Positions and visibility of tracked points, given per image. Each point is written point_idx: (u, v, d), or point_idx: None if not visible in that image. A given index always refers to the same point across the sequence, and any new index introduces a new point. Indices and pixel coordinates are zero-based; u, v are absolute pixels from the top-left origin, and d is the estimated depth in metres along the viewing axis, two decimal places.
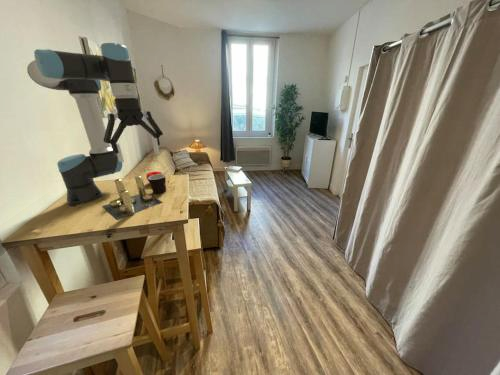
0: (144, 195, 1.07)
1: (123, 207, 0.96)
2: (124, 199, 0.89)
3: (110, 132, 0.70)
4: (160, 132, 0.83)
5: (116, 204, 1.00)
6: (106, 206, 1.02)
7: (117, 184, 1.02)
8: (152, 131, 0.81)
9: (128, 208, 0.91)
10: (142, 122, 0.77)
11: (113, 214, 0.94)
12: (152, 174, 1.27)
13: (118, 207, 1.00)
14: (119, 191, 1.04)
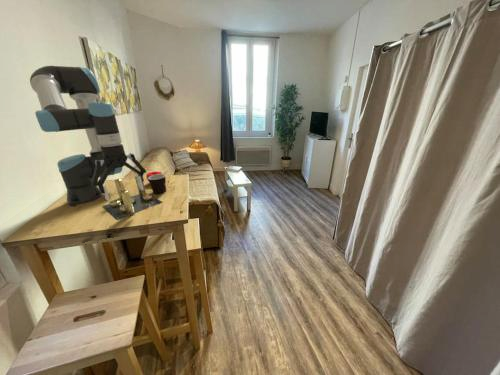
0: (144, 195, 1.07)
1: (123, 207, 0.96)
2: (124, 199, 0.89)
3: (97, 176, 0.79)
4: (144, 170, 0.92)
5: (116, 204, 1.00)
6: (106, 206, 1.02)
7: (117, 184, 1.02)
8: (136, 170, 0.90)
9: (128, 208, 0.91)
10: (126, 164, 0.86)
11: (113, 214, 0.94)
12: (152, 174, 1.27)
13: (118, 207, 1.00)
14: (119, 191, 1.04)
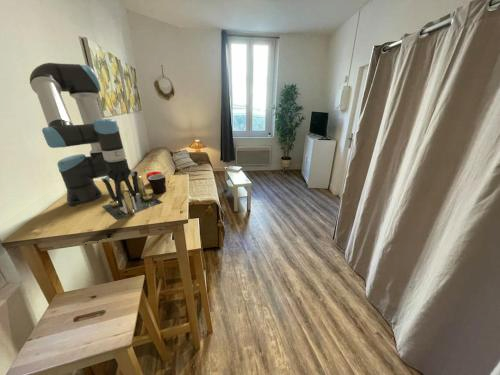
0: (144, 195, 1.07)
1: None
2: (124, 199, 0.89)
3: (112, 192, 0.85)
4: (137, 190, 0.93)
5: (116, 204, 1.00)
6: (106, 206, 1.02)
7: None
8: (131, 189, 0.91)
9: (128, 208, 0.91)
10: (127, 180, 0.88)
11: (113, 214, 0.94)
12: (152, 174, 1.27)
13: (118, 207, 1.00)
14: None
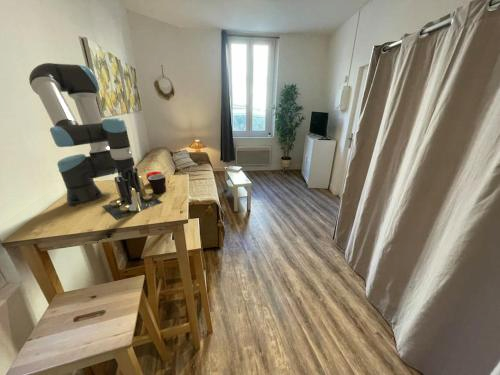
0: (144, 195, 1.07)
1: (124, 207, 0.96)
2: (132, 196, 0.92)
3: (125, 190, 0.87)
4: (139, 186, 0.97)
5: (116, 204, 1.00)
6: (106, 206, 1.02)
7: None
8: (136, 186, 0.95)
9: (136, 205, 0.94)
10: (133, 176, 0.92)
11: (113, 214, 0.94)
12: (152, 174, 1.27)
13: (118, 207, 1.00)
14: (119, 191, 1.04)
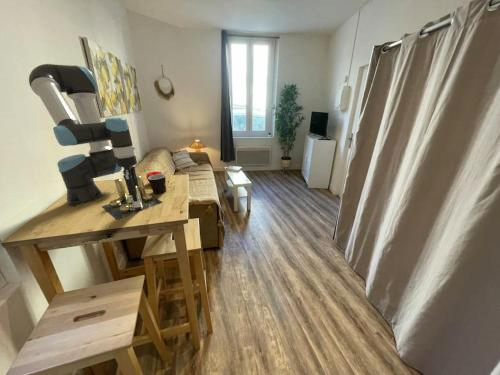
0: (144, 195, 1.07)
1: (126, 206, 0.96)
2: None
3: (134, 186, 0.90)
4: None
5: (116, 204, 1.00)
6: (106, 206, 1.02)
7: (117, 184, 1.02)
8: (136, 183, 0.97)
9: (140, 201, 0.97)
10: (135, 174, 0.94)
11: (113, 214, 0.94)
12: (152, 174, 1.27)
13: (118, 207, 1.00)
14: (119, 191, 1.04)
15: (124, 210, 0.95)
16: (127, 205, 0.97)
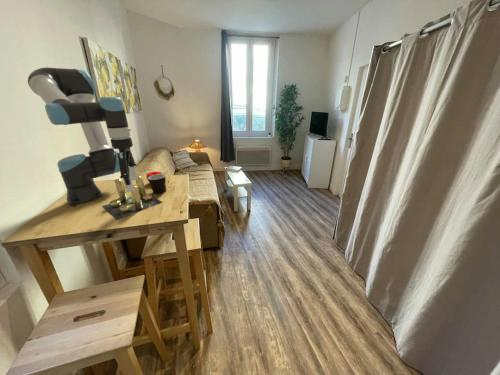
0: (144, 195, 1.07)
1: (126, 206, 0.96)
2: (137, 193, 0.95)
3: (127, 168, 0.84)
4: (134, 161, 1.00)
5: (116, 204, 1.00)
6: (106, 206, 1.02)
7: (117, 184, 1.02)
8: (132, 161, 0.97)
9: (140, 201, 0.97)
10: (131, 155, 0.93)
11: (113, 214, 0.94)
12: (152, 174, 1.27)
13: (118, 207, 1.00)
14: (119, 191, 1.04)
15: (124, 210, 0.95)
16: (127, 205, 0.97)
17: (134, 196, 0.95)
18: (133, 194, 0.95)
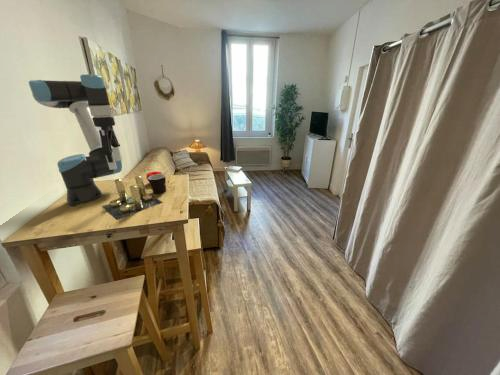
0: (144, 195, 1.07)
1: (126, 206, 0.96)
2: (137, 193, 0.95)
3: (109, 145, 0.86)
4: (117, 142, 1.02)
5: (116, 204, 1.00)
6: (106, 206, 1.02)
7: (117, 184, 1.02)
8: (116, 142, 0.99)
9: (140, 201, 0.97)
10: (114, 135, 0.95)
11: (113, 214, 0.94)
12: (152, 174, 1.27)
13: (118, 207, 1.00)
14: (119, 191, 1.04)
15: (124, 210, 0.95)
16: (127, 205, 0.97)
17: (134, 196, 0.95)
18: (133, 194, 0.95)
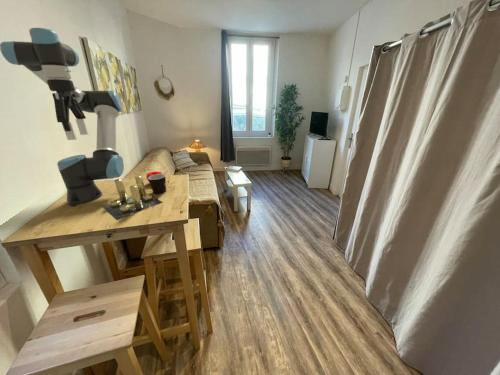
0: (144, 195, 1.07)
1: (126, 206, 0.96)
2: (137, 193, 0.95)
3: (64, 110, 0.76)
4: (83, 114, 0.92)
5: (116, 204, 1.00)
6: (106, 206, 1.02)
7: (117, 184, 1.02)
8: (80, 112, 0.89)
9: (140, 201, 0.97)
10: (75, 103, 0.85)
11: (113, 214, 0.94)
12: (152, 174, 1.27)
13: (118, 207, 1.00)
14: (119, 191, 1.04)
15: (124, 210, 0.95)
16: (127, 205, 0.97)
17: (134, 196, 0.95)
18: (133, 194, 0.95)
